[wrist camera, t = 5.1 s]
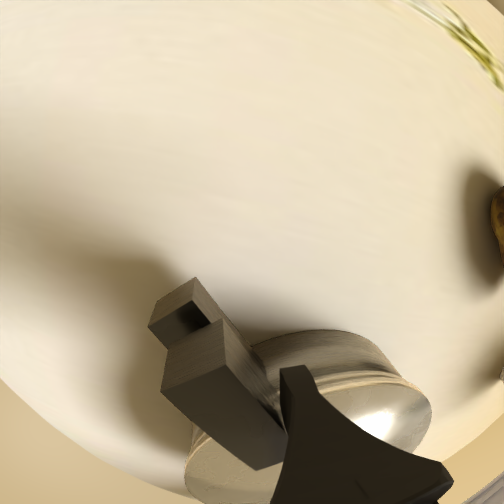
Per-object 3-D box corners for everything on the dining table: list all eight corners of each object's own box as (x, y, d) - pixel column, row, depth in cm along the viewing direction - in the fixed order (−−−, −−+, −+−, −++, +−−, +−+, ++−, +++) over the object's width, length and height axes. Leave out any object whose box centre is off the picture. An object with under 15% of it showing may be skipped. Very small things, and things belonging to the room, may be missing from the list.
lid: (427, 445, 17) (440, 465, 15) (259, 519, 18) (263, 541, 15) (390, 224, 10) (434, 244, 8) (62, 391, 11) (44, 428, 8)
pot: (404, 404, 22) (428, 439, 17) (260, 477, 23) (267, 515, 18) (309, 193, 15) (351, 209, 10) (85, 338, 16) (56, 388, 11)
